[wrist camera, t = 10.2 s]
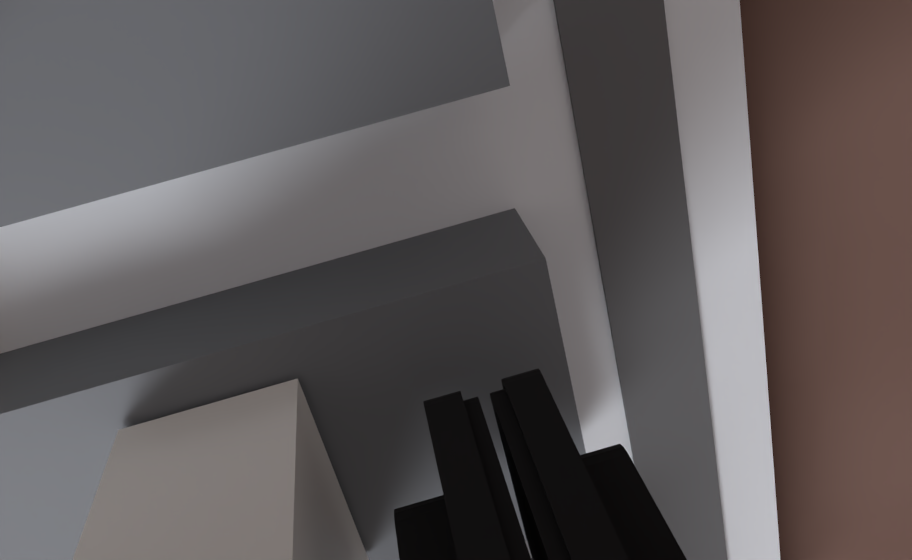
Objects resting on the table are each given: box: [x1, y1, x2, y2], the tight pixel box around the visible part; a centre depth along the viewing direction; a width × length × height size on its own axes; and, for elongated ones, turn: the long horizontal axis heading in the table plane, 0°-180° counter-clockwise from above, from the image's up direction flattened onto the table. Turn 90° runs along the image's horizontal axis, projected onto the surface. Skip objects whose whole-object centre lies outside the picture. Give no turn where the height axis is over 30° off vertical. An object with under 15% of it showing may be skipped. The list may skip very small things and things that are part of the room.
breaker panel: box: [0, 0, 780, 560], centre depth 14 cm, size 20×21×4 cm
